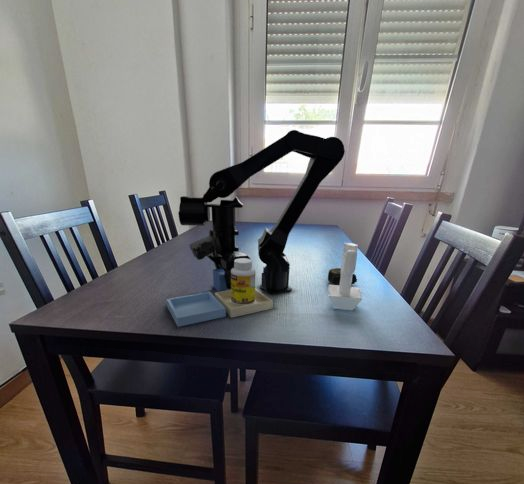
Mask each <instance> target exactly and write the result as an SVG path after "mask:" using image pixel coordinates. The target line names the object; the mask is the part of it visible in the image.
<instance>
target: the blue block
mask: <svg viewBox="0 0 524 484" xmlns="http://www.w3.org/2000/svg"><path fill="white" fill-rule="evenodd" d="M212 278H213V280H212V281H213V288H214V289H215V290H216V292H221V291H227V290H231V288H230V289H228V288H227V285H226V280H225V274H224V270H223V269H222V268H221V269H216V268H213V269H212Z"/></svg>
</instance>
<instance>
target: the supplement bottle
mask: <svg viewBox="0 0 524 484" xmlns="http://www.w3.org/2000/svg"><path fill="white" fill-rule="evenodd" d="M255 288H256V269H255V268H254V267H253V260H252V258H250V259H247V258H239V259H235V260H234V268H232V269H231V301H232V303H233V304H235V305H238V306H244V305H249V304H253V303H254V301H255Z"/></svg>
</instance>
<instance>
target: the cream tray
mask: <svg viewBox="0 0 524 484" xmlns="http://www.w3.org/2000/svg"><path fill="white" fill-rule="evenodd" d="M214 297H215V298H216V299H217V300H218V301H219V302H220V303H221V304H222V305H223V306H224V307H225V308H226V315H228V316H229V317H230V318H231V319H232V318H237V317H241V316H246V315H249V314H254V313H258V312H263V311H267V310H272V309H273V305H274V304H273V300H272V299H271V298H270V297H269V296H267V295H266V294H265V293H262V291H260V290H258V289H257V288H256V287H255V301H254V303H253V304H249V305H244V306H238V305H235V304H233V303H232V301H231V290H227V291H221V292H218V291H216V292H214Z"/></svg>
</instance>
